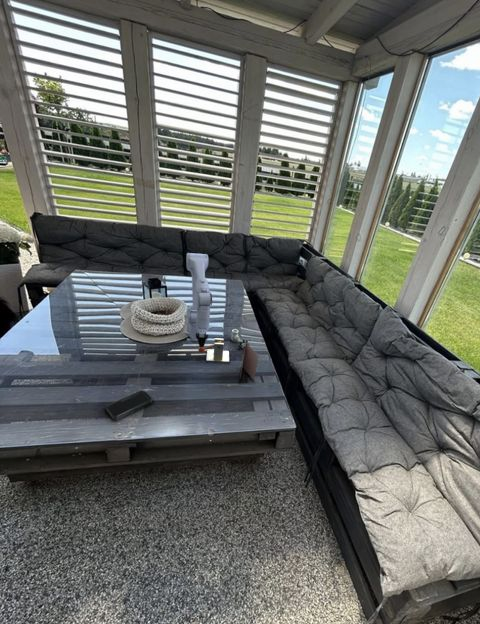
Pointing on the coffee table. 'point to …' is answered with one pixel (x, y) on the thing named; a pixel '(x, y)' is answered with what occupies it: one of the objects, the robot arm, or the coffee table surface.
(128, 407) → the phone
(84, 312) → the coffee table surface
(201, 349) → the lever
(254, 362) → the greeting card
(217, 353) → the tap bracket
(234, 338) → the valve
